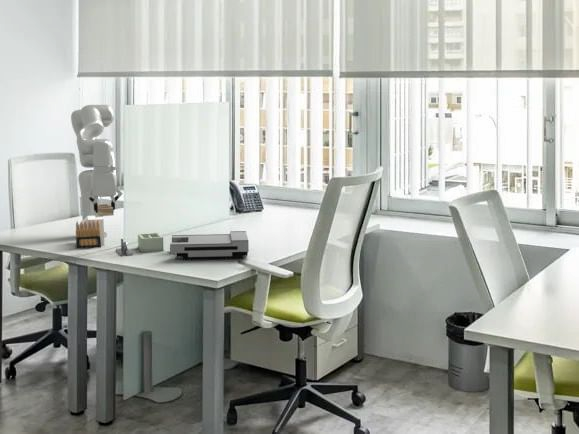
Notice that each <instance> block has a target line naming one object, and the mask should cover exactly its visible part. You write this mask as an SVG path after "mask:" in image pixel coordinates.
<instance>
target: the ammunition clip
mask: <svg viewBox="0 0 579 434" xmlns="http://www.w3.org/2000/svg"><path fill="white" fill-rule="evenodd" d="M79 224H80V231H79ZM92 226H93V227H92V229H91V223H90V221H89V223H88V230H87V223H86V221H85V223H84V230H83V224H82V220H81V221H80V222H78V221H76V224H75V245H76V246H75V249H77V248H78V249H93V248H94V247H98V248H102V246H101V238H100V227H99V221H97V229H96V228H95V222H94V221H93V225H92ZM96 234H97V236H96ZM92 239H93V244H92ZM96 239H97V241H96ZM88 243H89V244H88ZM94 249H95V248H94Z"/></svg>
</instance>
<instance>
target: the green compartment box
mask: <svg viewBox="0 0 579 434" xmlns="http://www.w3.org/2000/svg"><path fill="white" fill-rule="evenodd" d="M137 244H138V245H137V248H138V249H139V250H140V251H141V252H142V253H153V252H163V251H164V237H163V236H162V235H161V234H160V233H159V232H149V233H138V234H137Z"/></svg>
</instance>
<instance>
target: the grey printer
mask: <svg viewBox="0 0 579 434" xmlns="http://www.w3.org/2000/svg"><path fill="white" fill-rule="evenodd" d="M249 245H250V244H249V238H248V235H247V231H246V230H245V231H244V230H241V231H239V230H235V231H234V230H233V231H232V230H231V231H230V232H229V233H226V234H225V233H224V234H222V233H220V234H215V233H214V234H175V235H173V234H172V235H171V242H170V243H169V252H170V253H169V254H176V258H182V261H211V260H212V261H217V260H218V261H221V260H243V259H244V256H245V257H247V256H248V255H249V250H250V249H249Z"/></svg>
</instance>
